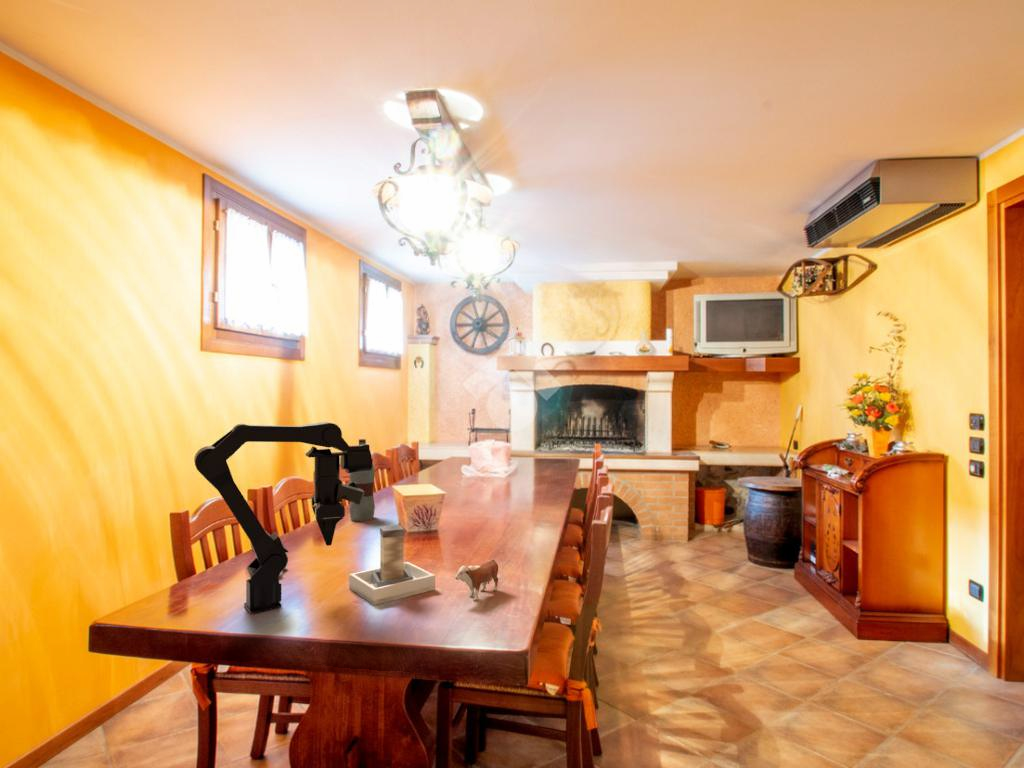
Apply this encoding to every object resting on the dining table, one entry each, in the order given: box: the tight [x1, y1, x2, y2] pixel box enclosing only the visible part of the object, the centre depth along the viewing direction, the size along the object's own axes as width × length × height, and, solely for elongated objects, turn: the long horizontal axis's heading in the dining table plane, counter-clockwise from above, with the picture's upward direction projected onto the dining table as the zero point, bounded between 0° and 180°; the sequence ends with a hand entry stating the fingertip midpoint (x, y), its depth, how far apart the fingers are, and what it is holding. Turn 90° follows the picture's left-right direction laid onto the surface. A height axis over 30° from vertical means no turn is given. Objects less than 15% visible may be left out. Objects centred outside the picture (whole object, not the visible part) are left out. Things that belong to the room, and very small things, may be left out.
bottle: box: [348, 438, 376, 522], centre depth 216 cm, size 9×9×30 cm
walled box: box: [348, 561, 436, 606], centre depth 140 cm, size 16×14×4 cm
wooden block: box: [379, 524, 405, 581], centre depth 140 cm, size 5×5×14 cm
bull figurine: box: [454, 559, 499, 602], centre depth 135 cm, size 4×13×8 cm, turn 140°
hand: (327, 540), depth 136 cm, fingers open, 9 cm apart
